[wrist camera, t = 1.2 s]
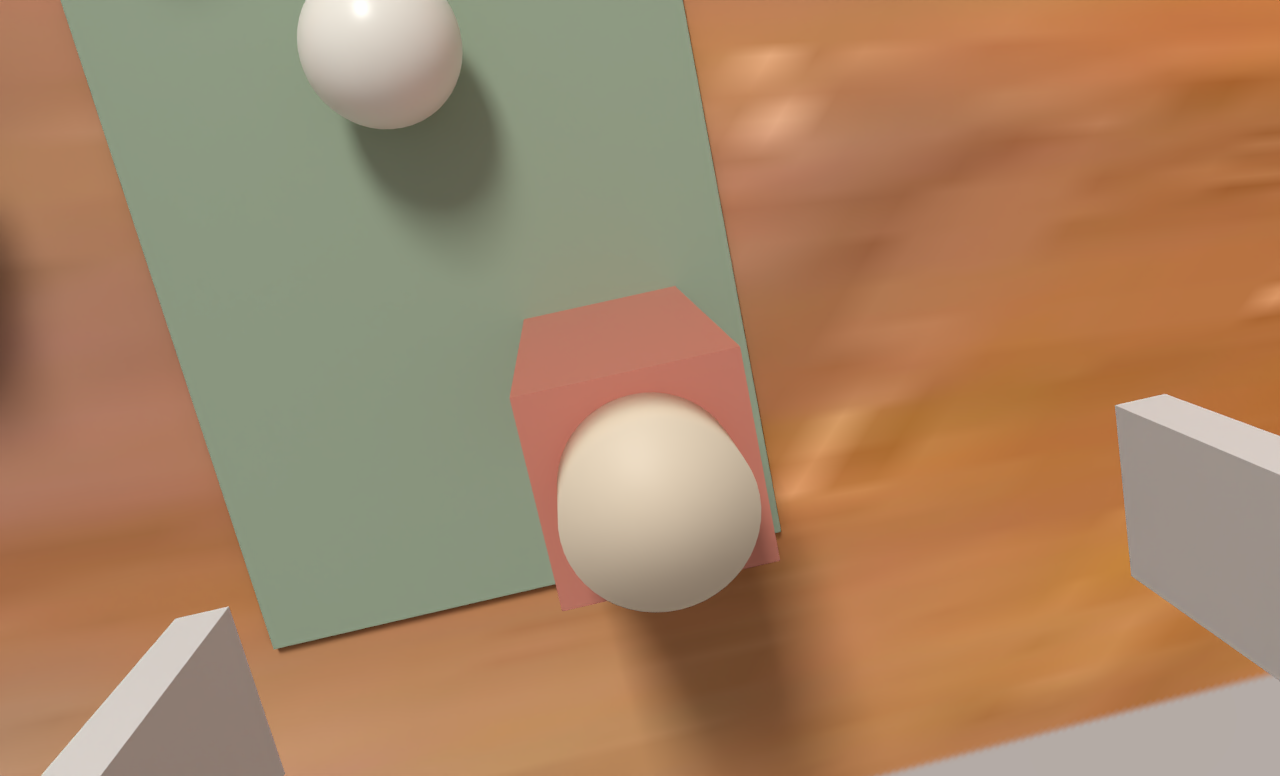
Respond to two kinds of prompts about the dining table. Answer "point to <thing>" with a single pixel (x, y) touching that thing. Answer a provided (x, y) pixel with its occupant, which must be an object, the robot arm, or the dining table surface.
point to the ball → (380, 58)
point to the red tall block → (641, 452)
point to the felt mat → (397, 273)
